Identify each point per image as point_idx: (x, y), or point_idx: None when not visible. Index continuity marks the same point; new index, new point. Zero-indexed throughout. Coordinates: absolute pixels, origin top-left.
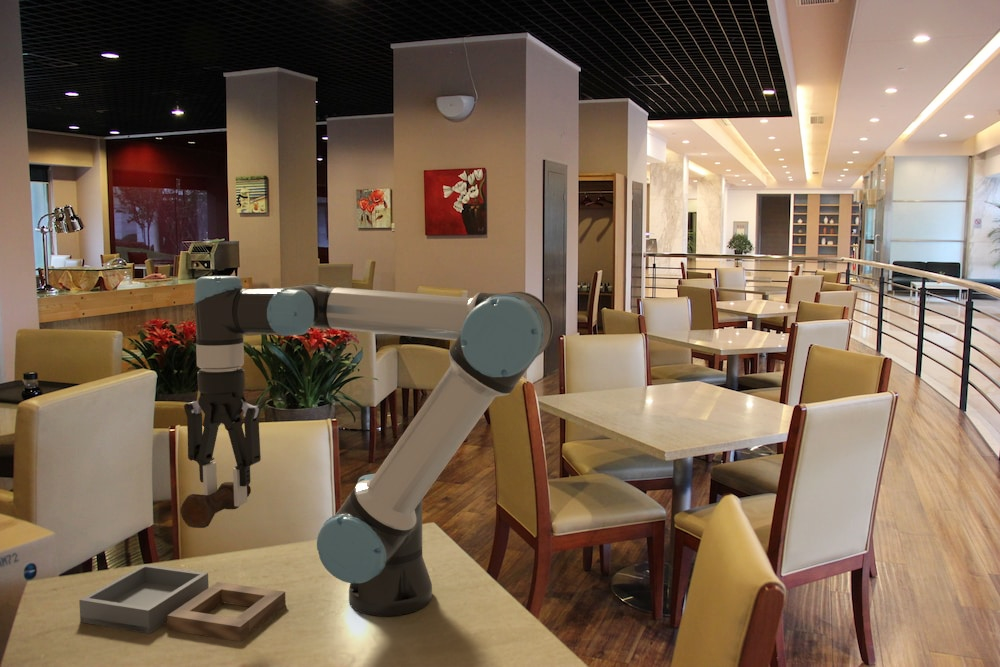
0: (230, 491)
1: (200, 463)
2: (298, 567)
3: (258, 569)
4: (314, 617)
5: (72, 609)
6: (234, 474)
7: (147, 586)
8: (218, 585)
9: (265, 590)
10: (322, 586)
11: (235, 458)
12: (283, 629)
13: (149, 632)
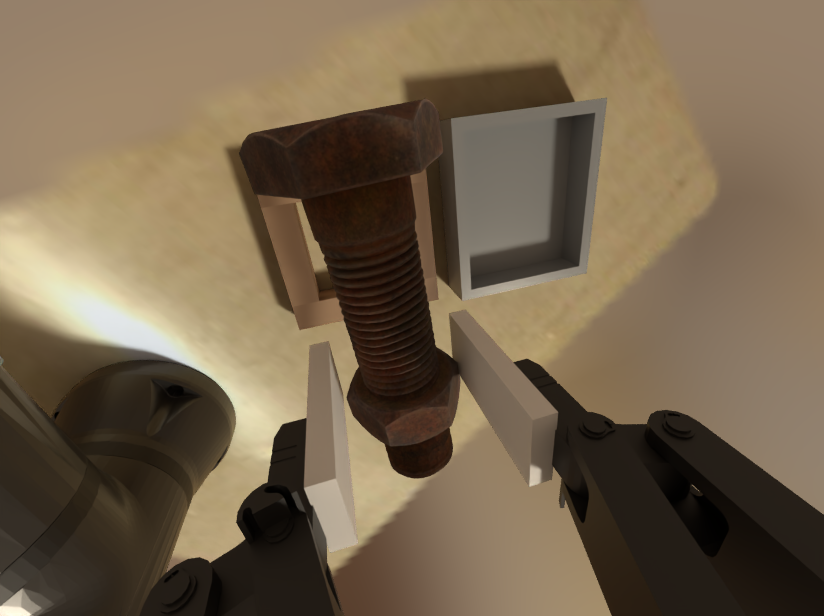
0: (380, 388)
1: (583, 419)
2: None
3: None
4: (214, 309)
5: (616, 137)
6: (324, 449)
7: (548, 247)
8: (427, 290)
9: (335, 315)
10: (299, 392)
11: (319, 568)
12: (225, 248)
13: None
